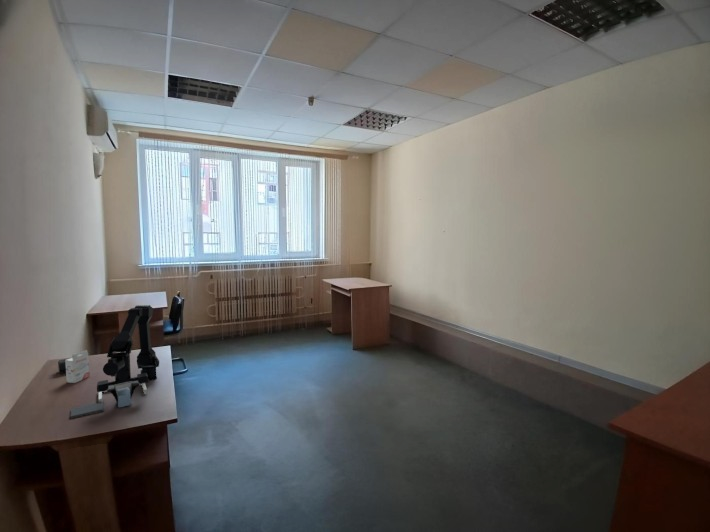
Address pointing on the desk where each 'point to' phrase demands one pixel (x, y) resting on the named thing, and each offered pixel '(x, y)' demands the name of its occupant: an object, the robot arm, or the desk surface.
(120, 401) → the blank block
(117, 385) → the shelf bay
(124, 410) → the desk surface
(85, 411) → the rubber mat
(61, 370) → the end cap
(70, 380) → the ink cartridge box
